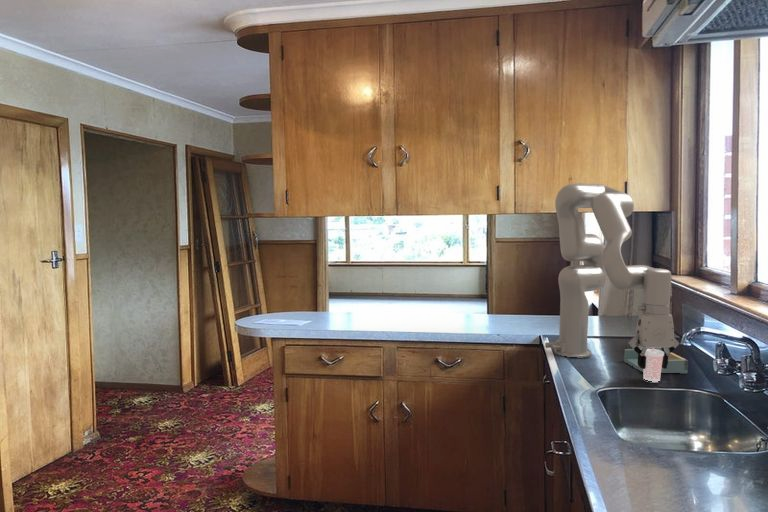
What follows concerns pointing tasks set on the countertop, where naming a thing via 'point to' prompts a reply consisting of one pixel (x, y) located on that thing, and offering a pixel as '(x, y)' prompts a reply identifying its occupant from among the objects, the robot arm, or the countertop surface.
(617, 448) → the countertop surface
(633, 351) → the tray
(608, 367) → the countertop surface
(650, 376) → the beverage cup
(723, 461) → the countertop surface
